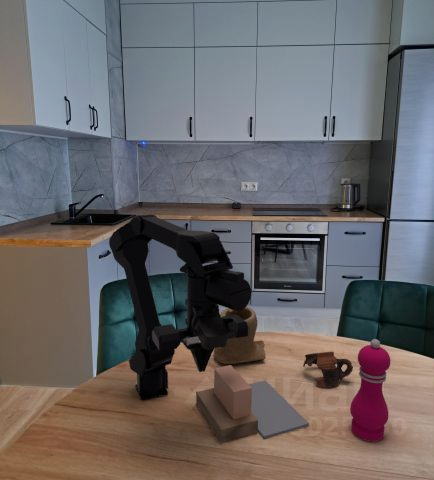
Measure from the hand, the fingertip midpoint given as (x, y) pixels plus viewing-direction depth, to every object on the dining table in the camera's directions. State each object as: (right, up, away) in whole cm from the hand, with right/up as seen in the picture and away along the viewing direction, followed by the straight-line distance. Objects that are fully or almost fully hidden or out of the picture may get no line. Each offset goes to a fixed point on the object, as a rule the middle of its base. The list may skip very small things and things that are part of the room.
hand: (201, 371), depth 80 cm
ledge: (+5, -11, +4) cm, 13 cm away
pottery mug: (+31, -9, +21) cm, 38 cm away
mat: (+14, -11, +8) cm, 19 cm away
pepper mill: (+34, -13, +1) cm, 36 cm away
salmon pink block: (+6, -8, +4) cm, 11 cm away
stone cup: (+10, -7, +30) cm, 32 cm away
